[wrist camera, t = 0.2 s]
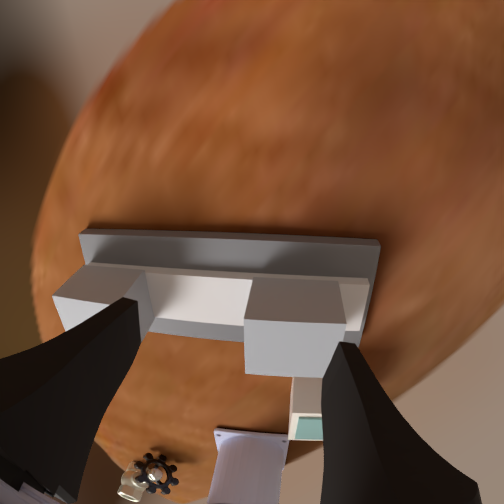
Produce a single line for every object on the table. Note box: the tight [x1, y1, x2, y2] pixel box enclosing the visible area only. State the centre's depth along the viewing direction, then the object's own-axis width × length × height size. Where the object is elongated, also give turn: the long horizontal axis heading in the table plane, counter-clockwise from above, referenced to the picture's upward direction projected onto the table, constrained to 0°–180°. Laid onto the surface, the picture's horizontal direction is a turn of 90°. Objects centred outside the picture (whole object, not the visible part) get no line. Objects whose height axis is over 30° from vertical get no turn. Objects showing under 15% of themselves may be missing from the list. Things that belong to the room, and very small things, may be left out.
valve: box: [118, 453, 179, 502], centre depth 35 cm, size 7×7×12 cm
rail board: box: [52, 229, 381, 378], centre depth 19 cm, size 8×20×6 cm, turn 90°
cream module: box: [288, 377, 323, 441], centre depth 22 cm, size 4×5×5 cm
